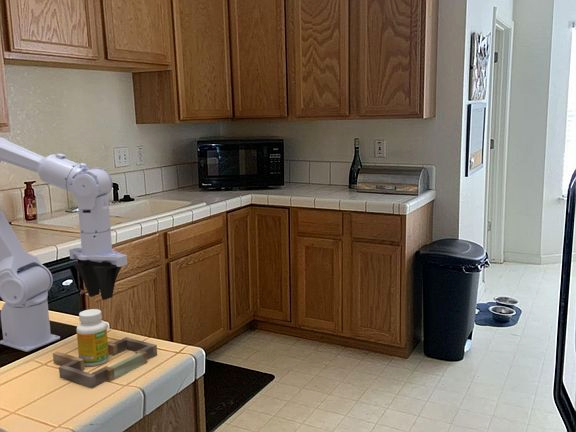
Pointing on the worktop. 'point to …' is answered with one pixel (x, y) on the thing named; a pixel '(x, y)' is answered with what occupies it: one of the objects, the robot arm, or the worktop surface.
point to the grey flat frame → (75, 365)
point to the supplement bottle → (92, 338)
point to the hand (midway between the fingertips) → (100, 296)
